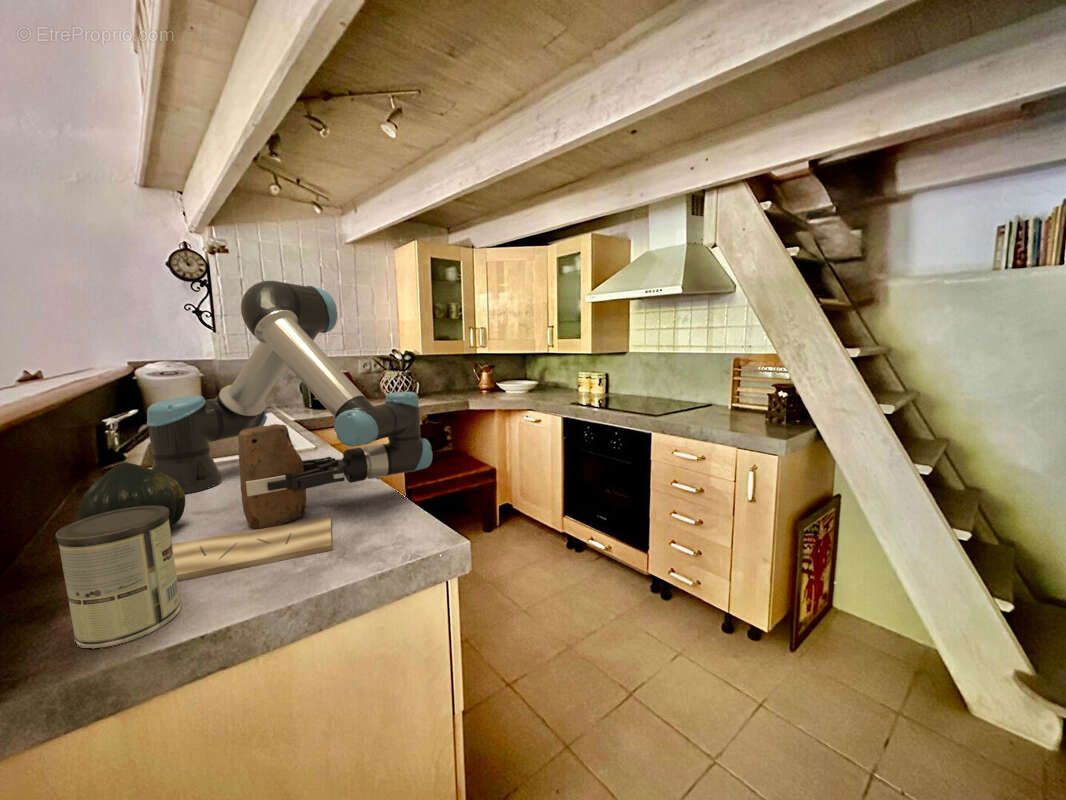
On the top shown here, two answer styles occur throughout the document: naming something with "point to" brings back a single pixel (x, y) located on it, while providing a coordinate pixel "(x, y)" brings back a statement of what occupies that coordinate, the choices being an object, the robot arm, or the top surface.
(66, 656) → the top surface
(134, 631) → the coffee can
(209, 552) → the board
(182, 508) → the squash
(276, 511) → the block
